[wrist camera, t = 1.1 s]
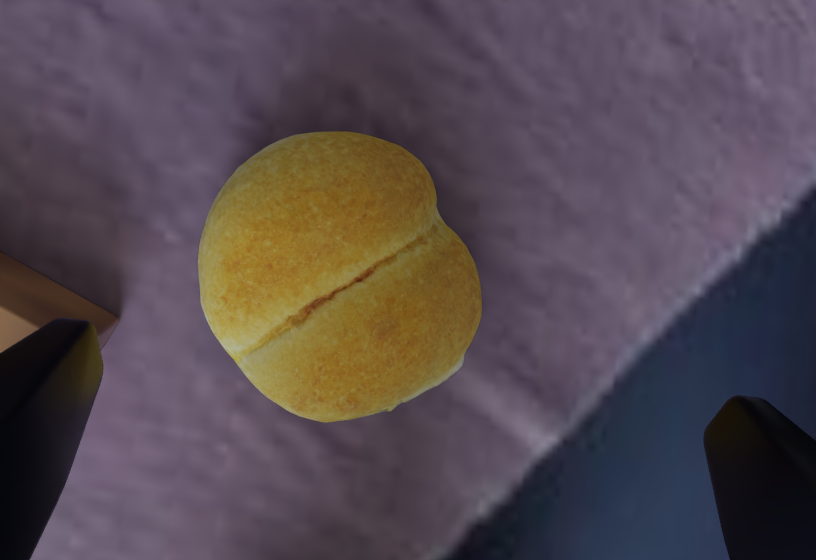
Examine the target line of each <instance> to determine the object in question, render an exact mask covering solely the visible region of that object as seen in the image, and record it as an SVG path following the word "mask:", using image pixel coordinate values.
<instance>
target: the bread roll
mask: <svg viewBox="0 0 816 560" xmlns="http://www.w3.org/2000/svg"><path fill="white" fill-rule="evenodd" d="M436 204H437V196H436V190H435V187H434V183H433V180H432V179H431V176H430V174H429V173H428V171H427V169H426V168H425V166H424V165H423V163H422V162H421V161H420V160H418V159H417V158H416V157H415V156H414V155H412V154H411V153H410V152H408V151H407V150H406V149H404V148H403V147H401V146H399V145H397V144H394V143H391V142H388V141H385V140H382V139H379V138H376V137H373V136H370V135H365V134H361V133H356V132H346V131H334V132H312V133H304V134H296V135H293V136H290V137H287V138H284V139H281V140H279V141H277V142H275V143H272V144H270V145H268V146H267V147H265V148H264V149H262V150H261V151H259V152H258V153H256V154H255V155H253V156H252V157H251V158H249V159H248V160H247V161H246V162H244V163H243V164H242V165H240V166H239V167H238V168H237V169H236V170H235V172H234V173H233V174H232V175H231V177H230V178H229V179H228V180H227V182H226V183H225V184H224V185H223V187H222V188H221V190H220V191H219V193H218V195H217V196H216V198H215V200H214V202H213V204H212V206H211V209H210V211H209V213H208V215H207V219H206V222H205V224H204V228H203V231H202V236H201V240H200V245H199V252H198V274H199V285H200V299H201V305H202V308H203V311H204V314H205V316H206V319H207V322H208V324H209V326H210V328H211V330H212V332H213V333H214V335H215V336H216V338H217V339H218V340H219V342H220V343H221V345H222V346H223V348H224V349H225V350H226V351H227V352H228V354H229V355H230V356H231V357H232V358H233V359H234V361H235V362H236V363H237V365H238V366H239V367H240V369H241V370H242V372H243V373H244V374H245V375H246V377H247V378H248V379H249V380H250V381H251V382H252V384H253V385H254V386H255V387H256V388H257V389H258V390H259V391H260V392H262V393H263V394H264V395H265V396H266V397H267V398H269V399H271V400H272V401H274V402H275V403H277V404H278V405H280V406H281V407H283V408H284V409H286V410H287V411H289V412H291V413H293V414H295V415H298V416H301V417H304V418H308V419H311V420H316V421H321V422H335V421H342V420H351V419H355V418H358V417H363V416H368V415H374V414H376V413H380V412H382V411H392V410H393V409H394V408H395V407H396V406H397V405H399V404H400V403H402V402H407V401H409V400H411V399H413V398H414V397H416V396H418V395H420V394H422V393H424V392H425V391H427V390H429V389H431V388H433V387H435V386H437V385H439V384H441V383H442V382H444V381H446V380H447V379H448V378H449V377H451V376H452V375H453V374H454V373H455V372H457V371H458V370H459V369H460V368H461V367H462V365H463V361H464V354H465V352H466V350H467V349H468V347H469V345H470V344H471V342H472V340H473V338H474V335H475V333H476V331H477V328H478V325H479V323H480V320H481V312H482V299H481V286H480V280H479V276H478V272H477V269H476V265H475V262H474V260H473V258H472V256H471V255H470V253H469V251H468V249H467V247H466V245H465V244H464V243H463V242H462V240H461V239H460V238H459V237H458V236H457V234H456V233H455V232H454V231H453V230H452V229H450V228H449V227H448V226H447V225H446V224H445V222H444V221H443V219H442V218H441V216H440V214H439V212H438V210H437V208H436Z"/></svg>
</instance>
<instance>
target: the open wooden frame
mask: <svg viewBox="0 0 816 560" xmlns="http://www.w3.org/2000/svg"><path fill="white" fill-rule="evenodd" d="M57 318H72V319H81V320H88V321H90V322H92V323H93V324H94V326H95V329H96V332H97V337H98V342H99V346H100V351H101V350H102V348H103V347H104V345H105V343H106V342H107V340H108V338H109V337H110V335H111V334H112V332H113V330H114V329H115V327H116V326H117V324H118V322H119V318H118V317H116V316H114V315H113V314H111V313H109V312H107V311H106V310H104V309H102V308H100V307H98V306H97V305H95V304H93V303H91V302H90V301H88V300H86V299H84V298H82V297H81V296H79V295H77V294H75V293H73V292H72V291H70V290H68V289H66V288H65V287H63V286H61V285H59V284H57V283H56V282H54V281H52V280H50V279H48V278H47V277H45V276H43V275H41V274H40V273H38V272H36V271H34V270H32V269H31V268H29V267H27V266H25V265H23V264H22V263H20V262H18V261H16V260H15V259H13V258H11V257H9V256H7V255H6V254H4V253H2V252H0V353H1V352H3V351H4V350H6V349H7V348H9V347H11V346H12V345H14V344H15V343H17V342H19V341H20V340H22V339H23V338H25V337H27V336H28V335H30V334H31V333H33V332H35V331H36V330H38V329H39V328H41V327H43V326H44V325H46V324H47V323H49V322H51V321H52V320H54V319H57Z"/></svg>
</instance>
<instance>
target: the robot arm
mask: <svg viewBox="0 0 816 560" xmlns="http://www.w3.org/2000/svg"><path fill="white" fill-rule="evenodd" d="M102 375H103V360H102V356H101V351H100V346H99V342H98V337H97V332H96V329H95V326H94V324H93V323H92V322H90V321H88V320H81V319H72V318H57V319H54V320H52V321H51V322H49V323H47V324H46V325H44V326H43V327H41V328H39V329H38V330H36V331H35V332H33V333H31V334H30V335H28V336H27V337H25V338H23V339H22V340H20V341H19V342H17V343H15V344H14V345H12V346H11V347H9V348H7V349H6V350H4V351H3V352H1V353H0V560H30V558H31V556H32V554H33V552H34V550H35V548H36V546H37V544H38V541H39V539H40V537H41V535H42V533H43V531H44V529H45V527H46V525H47V523H48V521H49V519H50V516H51V514H52V512H53V510H54V508H55V506H56V504H57V502H58V499H59V497H60V495H61V493H62V491H63V488H64V486H65V483H66V481H67V478H68V475H69V473H70V470H71V467H72V464H73V461H74V458H75V455H76V453H77V450H78V447H79V444H80V441H81V438H82V435H83V432H84V429H85V426H86V424H87V421H88V418H89V415H90V412H91V409H92V406H93V403H94V400H95V397H96V395H97V392H98V389H99V386H100V383H101V380H102ZM703 443H704V449H705V453H706V458H707V463H708V467H709V472H710V477H711V481H712V486H713V491H714V495H715V500H716V505H717V509H718V514H719V519H720V523H721V528H722V532H723V536H724V540H725V544H726V547H727V551H728V554H729V557H730V560H816V441H815V440H814V439H813V438H811V437H810V436H809V435H808V434H807V433H805V432H804V431H803V430H802V429H800V428H799V427H798V426H797V425H796V424H794V423H793V422H792V421H791V420H789V419H788V418H787V417H786V416H784V415H783V414H782V413H781V412H780V411H778V410H777V409H776V408H775V407H773V406H772V405H771V404H770V403H768V402H767V401H766V400H764V399H762V398H758V397H750V396H742V395H735V396H733V397H731V398H729V399H728V400H727V401H726V402H725V404H724V405H723V406H722V408H721V409H720V410H719V411H718V413H717V414H716V415H715V417H714V418H713V419H712V420H711V422H710V423H709V424H708V425H707V427H706V429H705V432H704V437H703Z"/></svg>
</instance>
